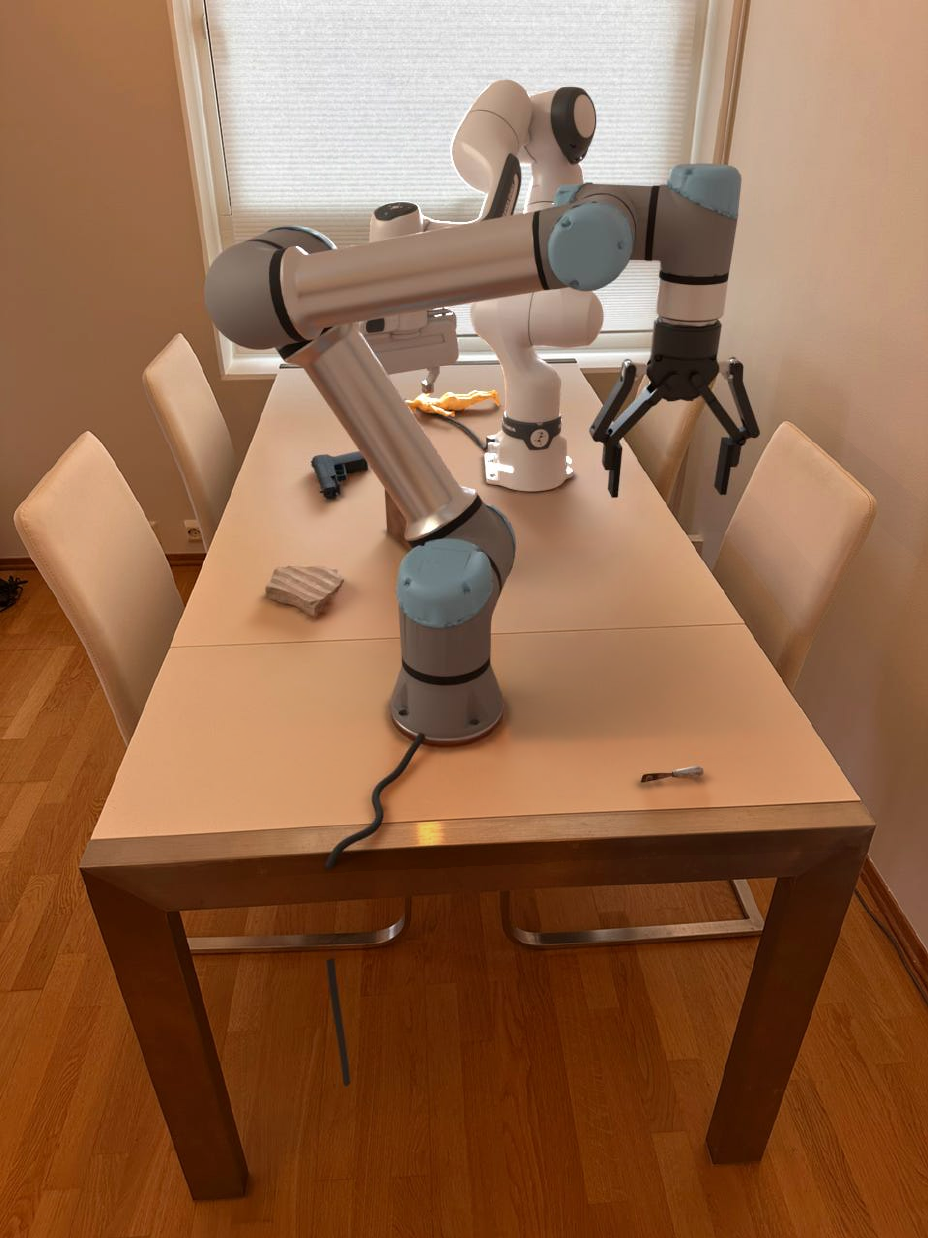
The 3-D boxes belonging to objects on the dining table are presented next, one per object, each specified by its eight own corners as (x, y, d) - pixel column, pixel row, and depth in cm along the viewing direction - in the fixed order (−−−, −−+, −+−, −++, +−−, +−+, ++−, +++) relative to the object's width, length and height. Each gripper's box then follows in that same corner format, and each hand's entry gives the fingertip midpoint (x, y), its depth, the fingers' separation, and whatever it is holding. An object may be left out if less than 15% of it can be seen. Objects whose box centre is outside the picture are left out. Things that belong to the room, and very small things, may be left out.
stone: (354, 583, 150) (352, 570, 149) (317, 618, 141) (316, 605, 140) (288, 570, 155) (286, 557, 153) (249, 603, 145) (246, 590, 144)
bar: (474, 577, 153) (474, 527, 148) (446, 585, 150) (445, 535, 145) (412, 524, 170) (410, 479, 165) (386, 531, 168) (384, 485, 163)
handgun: (379, 494, 182) (320, 501, 179) (364, 462, 196) (309, 468, 193) (378, 480, 180) (319, 487, 178) (363, 448, 194) (308, 454, 192)
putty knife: (703, 777, 109) (705, 767, 109) (642, 788, 108) (644, 777, 107) (700, 772, 110) (702, 762, 109) (639, 782, 109) (640, 771, 108)
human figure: (395, 413, 223) (394, 398, 221) (438, 390, 237) (438, 375, 235) (462, 429, 215) (462, 413, 213) (502, 404, 229) (503, 388, 227)
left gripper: (785, 308, 104) (754, 477, 115) (573, 311, 103) (563, 482, 114) (809, 324, 98) (774, 501, 109) (583, 328, 97) (572, 507, 108)
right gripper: (447, 302, 151) (448, 382, 159) (334, 316, 143) (341, 401, 150) (465, 309, 147) (465, 392, 154) (350, 325, 138) (356, 412, 145)
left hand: (666, 492), depth 112 cm, fingers open, 13 cm apart
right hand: (403, 397), depth 152 cm, fingers open, 8 cm apart
